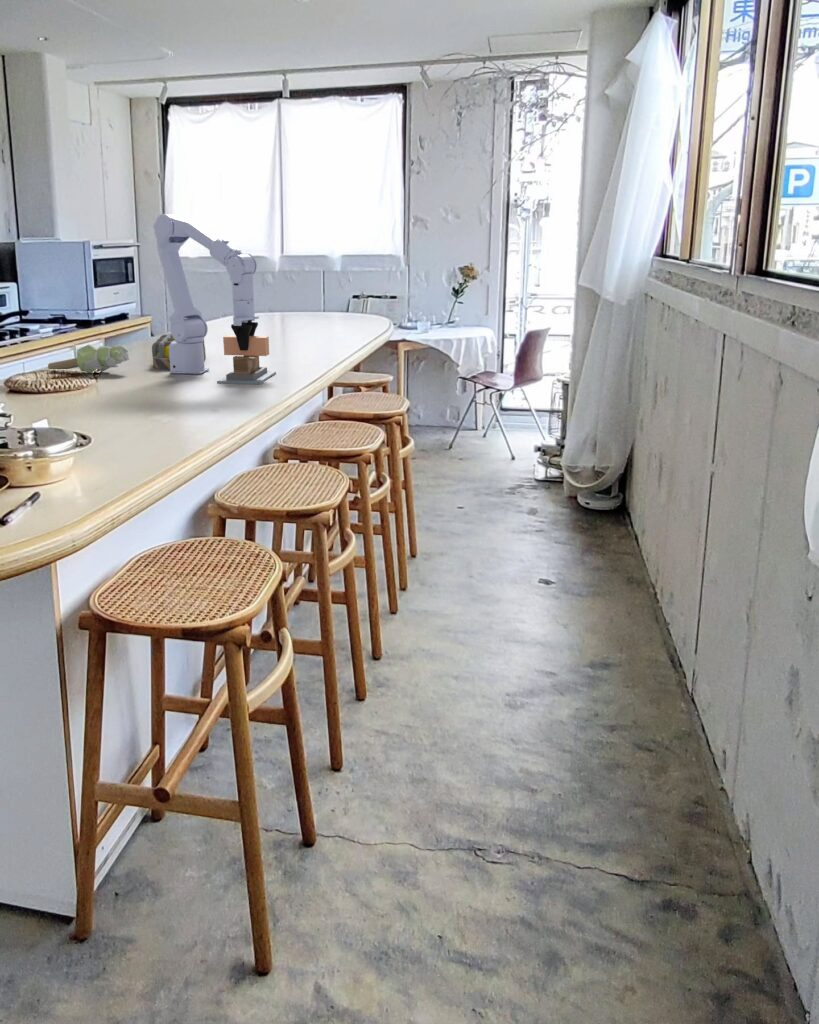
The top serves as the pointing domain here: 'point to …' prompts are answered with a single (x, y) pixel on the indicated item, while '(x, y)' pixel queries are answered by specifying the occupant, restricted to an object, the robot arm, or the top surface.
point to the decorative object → (94, 358)
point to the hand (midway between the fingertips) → (246, 349)
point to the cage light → (164, 352)
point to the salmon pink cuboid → (256, 347)
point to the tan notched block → (245, 364)
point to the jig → (248, 377)
